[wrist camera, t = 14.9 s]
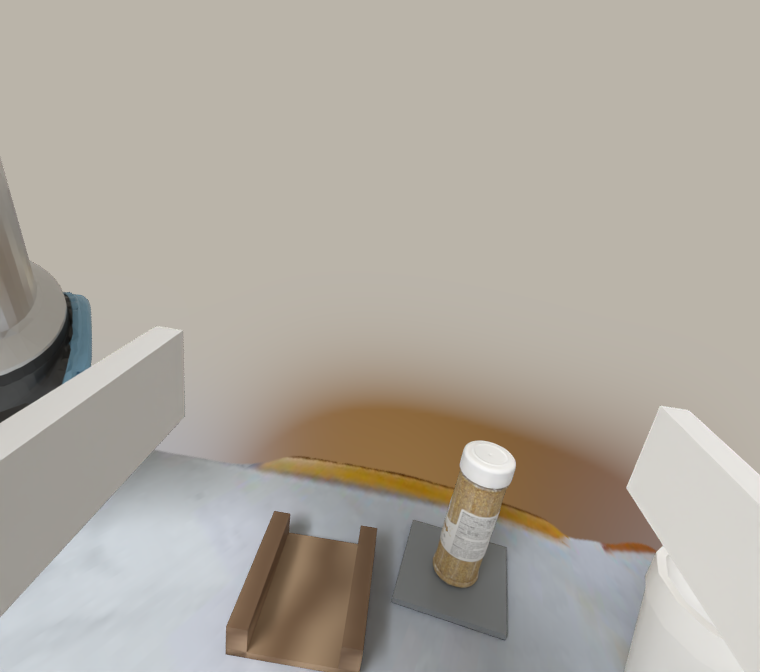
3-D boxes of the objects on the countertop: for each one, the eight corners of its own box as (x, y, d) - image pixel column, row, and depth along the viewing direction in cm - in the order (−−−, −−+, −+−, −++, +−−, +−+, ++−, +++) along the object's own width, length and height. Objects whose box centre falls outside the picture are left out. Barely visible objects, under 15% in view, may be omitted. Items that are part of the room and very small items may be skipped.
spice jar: (435, 544, 47) (467, 432, 42) (480, 560, 46) (517, 448, 41) (427, 579, 42) (461, 459, 38) (476, 598, 41) (517, 477, 37)
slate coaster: (391, 602, 41) (392, 597, 40) (412, 523, 50) (413, 519, 50) (505, 640, 39) (506, 635, 39) (504, 551, 48) (506, 547, 48)
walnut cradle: (225, 654, 35) (226, 626, 34) (272, 534, 46) (274, 510, 45) (358, 677, 34) (363, 650, 33) (373, 551, 46) (377, 528, 45)
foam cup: (707, 678, 38) (777, 562, 33) (766, 821, 30) (871, 693, 25) (588, 640, 40) (639, 525, 35) (612, 766, 31) (683, 636, 27)
